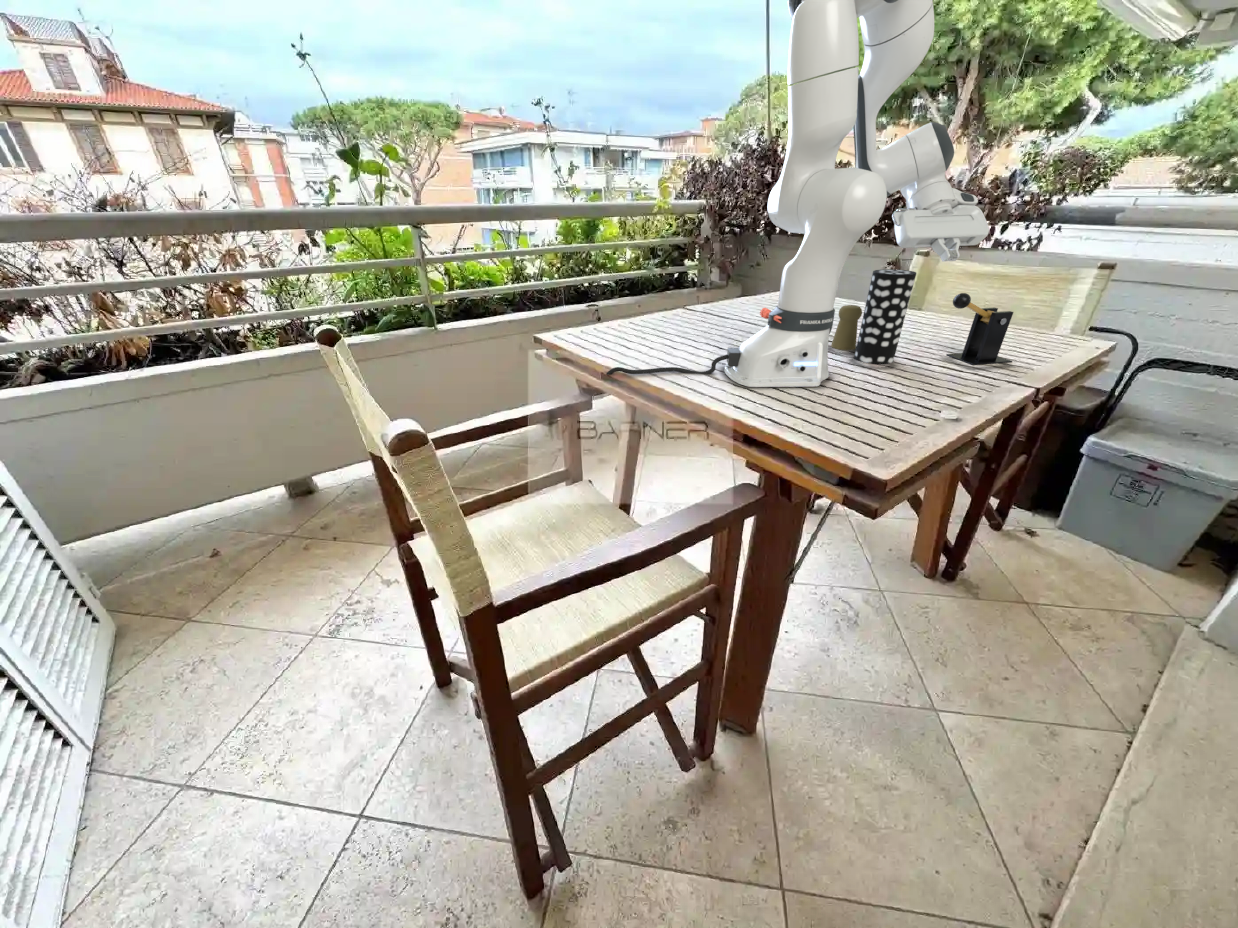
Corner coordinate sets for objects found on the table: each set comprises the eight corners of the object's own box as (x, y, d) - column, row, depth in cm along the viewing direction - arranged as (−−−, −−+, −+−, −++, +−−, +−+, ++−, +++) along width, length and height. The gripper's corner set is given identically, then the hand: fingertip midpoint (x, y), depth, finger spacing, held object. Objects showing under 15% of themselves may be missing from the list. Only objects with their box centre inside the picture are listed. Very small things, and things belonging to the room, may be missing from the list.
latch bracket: (971, 369, 108) (989, 315, 102) (944, 359, 115) (960, 307, 109) (1010, 366, 109) (1031, 312, 103) (982, 356, 116) (1000, 305, 110)
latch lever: (957, 306, 102) (967, 292, 101) (946, 303, 105) (956, 289, 104) (997, 329, 107) (1007, 315, 105) (985, 326, 109) (995, 312, 108)
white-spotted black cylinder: (884, 357, 116) (906, 269, 107) (898, 368, 109) (923, 274, 99) (848, 357, 117) (867, 269, 108) (860, 368, 110) (881, 275, 100)
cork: (860, 352, 120) (870, 307, 115) (838, 354, 120) (847, 308, 114) (846, 346, 126) (855, 302, 120) (825, 348, 125) (833, 304, 119)
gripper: (899, 198, 105) (918, 251, 101) (983, 195, 107) (1004, 247, 104) (881, 220, 111) (898, 271, 107) (961, 217, 113) (980, 267, 110)
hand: (951, 259), depth 105 cm, fingers closed
